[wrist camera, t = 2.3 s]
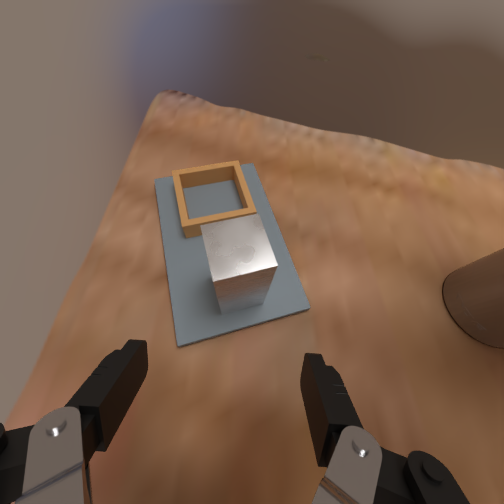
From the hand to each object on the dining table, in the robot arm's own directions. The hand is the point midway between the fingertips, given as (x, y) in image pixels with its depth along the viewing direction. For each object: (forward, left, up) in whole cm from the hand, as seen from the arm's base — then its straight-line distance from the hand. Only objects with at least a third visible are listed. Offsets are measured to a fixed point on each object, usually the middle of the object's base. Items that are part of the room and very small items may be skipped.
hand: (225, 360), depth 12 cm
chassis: (-3, -14, -12) cm, 19 cm away
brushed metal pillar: (-3, -7, -11) cm, 14 cm away
